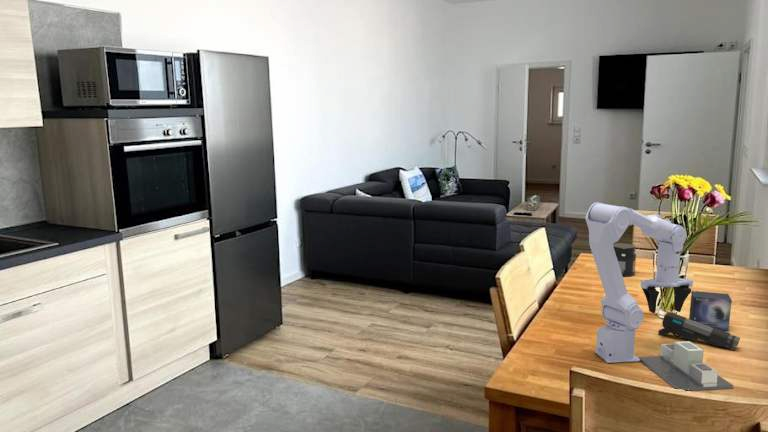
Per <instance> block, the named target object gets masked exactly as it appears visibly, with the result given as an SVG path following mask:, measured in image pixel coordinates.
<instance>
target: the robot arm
mask: <svg viewBox="0 0 768 432" xmlns="http://www.w3.org/2000/svg"><path fill="white" fill-rule="evenodd" d="M584 219H585V223H586V225H587V226H586V227H587V228H588V244H589V246H590V250H591V254H592V256H593V260H594V262H595V266H596V269H597V272H598V275H599V278H600V281H601V285H602V288H603V290H604V294H605V295H604V296H603V297H602V298H601V299H600V304H601V315H602V317H603V319H604V320H605V324H606V325H603V326H599V327H598V329H597V332H596V340H595V341H596V344H595V350H594V353H596V354H597V355H598V356H599V357H600V358H601V359H602V360H603V361H604V362H605V363H607V364H610V363H612V364H613V363H614V364H615V363H631V362H640V359H639V358H638V357H639V356H637V355H635V342H636V330H638V329H639V327H640V326H641V325H642V323H643V321H644V317H645V316H644V311H643V309H642V308H641V307H640V306H639V304H638V301H637V300H636V299H635V298H634V297H633V296H631V295H630V293H628V289H627V287H626V283H625V280H624V276H622V273H621V270H620V267H619V263H618V260H617V257H616V254H615V250H614V247H613V244H616V243H617V242H619V240H620V239H621V238H622V237H623V234H624V233H625V232H626V230H627V229H628V228H629V227H630V226H632V225H633V226H635V227H638V228H640V231H641V232H642V234H643V235H646V236H649V237H650V238H653V239H654V240H655V241H656V242H657V244H658V246H657V257H656V258H657V260H656V261H657V263H656V275H655V276H656V277H655V278H650V279H649V278H648V279H643V280H640V288H641V290H642V292H643V294H644V296H645V298H646V302H647V307H648V312H650V313H652V314H656V311H657V301H658V298H659V294H660V292H659V291H658V290H657V288H673V294H674V300H673V310H674V311H676V312H678V313H681V311H682V308H683V306H684V304H685V301H686V300H687V298H688V297H689V295H690V294H691V292H692V288H693V285H694V284H693V283H694V280H693V279H691V278H681V277H679V275H680V264H681V263H680V261H681V252H682V251H683V249H684V243H685V242H686V240H687V237H688V234H687V231H686V229H685V227H683V226H682V225H679V224H675V223H672V220H669V219H663V218H662V215H660V214H657V213H654V214H649V215H644V214H643V213H640V212H638V211H637V210H635V209H633V208H630V207H626V206H623V205H622V206H618V205H613V204H606V203H603V202H600V201H597V202H594V203H592V204H591V205H590V207H589V208H588V210H587V212H586V215H585V217H584Z"/></svg>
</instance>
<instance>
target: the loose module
mask: <svg viewBox="0 0 768 432" xmlns="http://www.w3.org/2000/svg"><path fill="white" fill-rule="evenodd" d="M674 343H675V346H674V359H673V364H674V365H676V366H677V367H679V368H680V369H681V370H683V371H684V372H686V373H689V368H690V364H695V363H704V362H703V361H704V360H703V359H704V349H702V348H701V347H699V346H698V345H696V344H694V343H693V342H692V341H691V340H688V341H675V342H674Z"/></svg>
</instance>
